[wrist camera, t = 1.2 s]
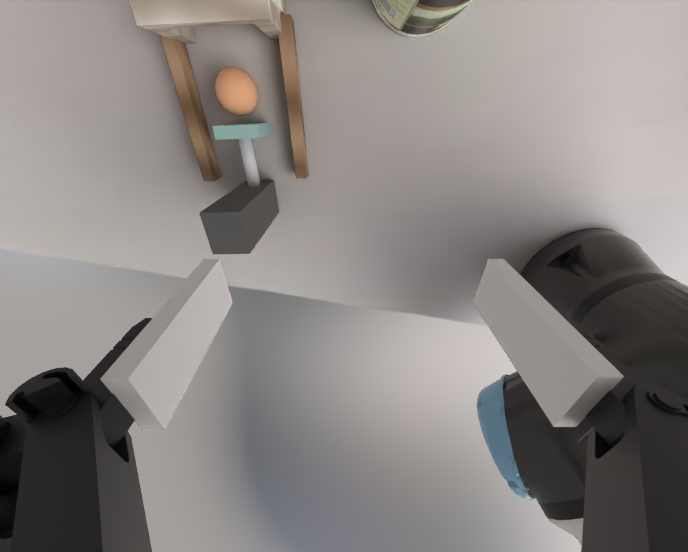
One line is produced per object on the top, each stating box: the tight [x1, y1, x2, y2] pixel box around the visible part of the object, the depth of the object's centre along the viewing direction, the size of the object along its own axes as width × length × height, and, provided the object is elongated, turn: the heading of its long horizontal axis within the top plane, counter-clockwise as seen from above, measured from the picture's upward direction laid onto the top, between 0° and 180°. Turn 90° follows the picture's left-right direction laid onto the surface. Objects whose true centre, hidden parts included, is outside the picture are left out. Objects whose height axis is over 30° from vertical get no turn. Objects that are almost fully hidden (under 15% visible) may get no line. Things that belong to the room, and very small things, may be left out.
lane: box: [129, 0, 309, 181], centre depth 25 cm, size 20×12×6 cm, turn 2°
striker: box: [200, 123, 279, 254], centre depth 27 cm, size 10×4×12 cm, turn 2°
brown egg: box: [215, 67, 258, 115], centre depth 27 cm, size 4×4×4 cm
